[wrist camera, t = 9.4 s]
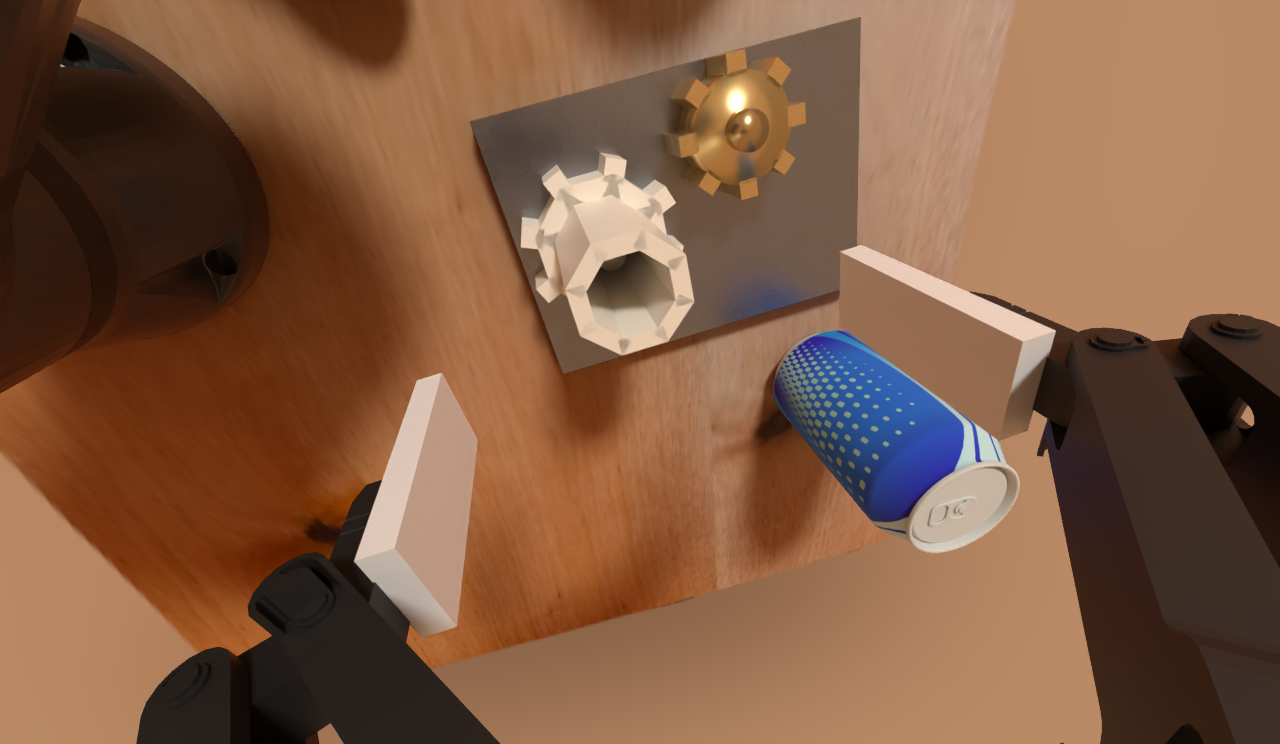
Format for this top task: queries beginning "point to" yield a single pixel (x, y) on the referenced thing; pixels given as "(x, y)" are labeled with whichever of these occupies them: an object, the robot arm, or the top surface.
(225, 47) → the top surface
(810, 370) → the beer can
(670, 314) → the planet gear
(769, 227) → the plate
